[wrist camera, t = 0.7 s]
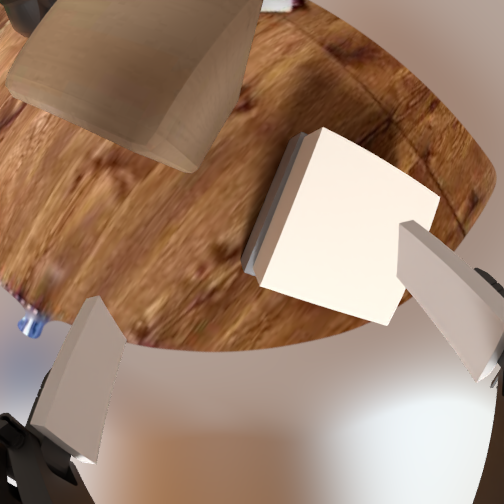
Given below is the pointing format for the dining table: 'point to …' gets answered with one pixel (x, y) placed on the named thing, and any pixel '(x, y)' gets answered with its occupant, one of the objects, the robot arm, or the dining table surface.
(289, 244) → the tower top
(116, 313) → the dining table surface
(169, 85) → the wooden block
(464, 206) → the dining table surface
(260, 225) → the tower base
